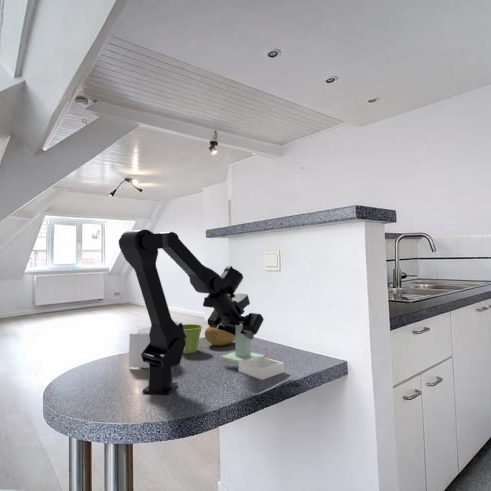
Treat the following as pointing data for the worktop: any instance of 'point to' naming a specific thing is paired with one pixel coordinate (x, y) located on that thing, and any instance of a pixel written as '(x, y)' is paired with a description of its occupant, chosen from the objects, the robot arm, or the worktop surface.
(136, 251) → the robot arm
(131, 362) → the toilet tissue
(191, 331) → the plant pot
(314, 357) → the worktop surface
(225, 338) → the potato
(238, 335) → the mint green stamp
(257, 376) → the dish
